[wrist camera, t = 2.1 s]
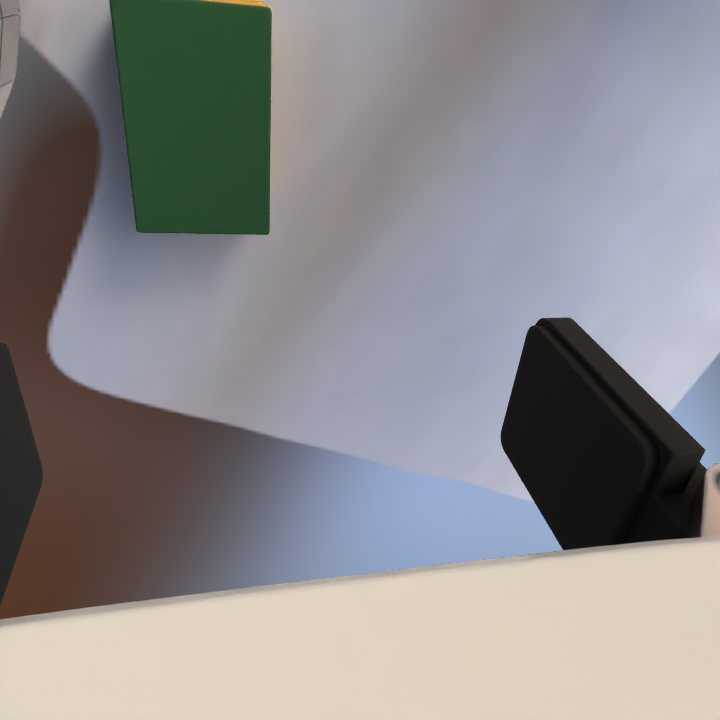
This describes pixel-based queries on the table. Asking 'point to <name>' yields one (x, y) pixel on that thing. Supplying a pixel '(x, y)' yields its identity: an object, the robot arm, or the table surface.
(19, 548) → the robot arm
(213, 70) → the sponge
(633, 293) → the table surface
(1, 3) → the bowl
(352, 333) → the table surface
